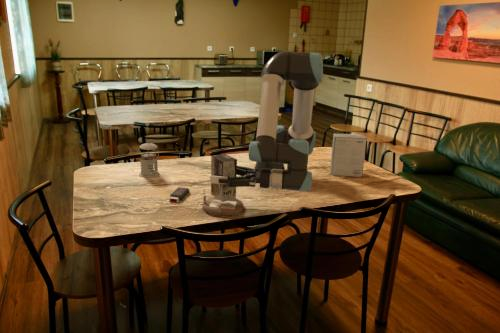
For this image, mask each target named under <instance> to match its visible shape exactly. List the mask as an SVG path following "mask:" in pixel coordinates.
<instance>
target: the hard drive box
mask: <svg viewBox="0 0 500 333" xmlns="http://www.w3.org/2000/svg"><path fill="white" fill-rule="evenodd" d="M367 142H368V141H367V137H366V136H365V134H358V133H356V134H354V133H353V134H352V133H333V135H332V145H331V157H330V158H331V159H330V167H329V172H330V175H331V176H342V177H343V176H344V177H357V178H358V177H359V178H362V177H363V173H364V172H363V171H364V164H365V157H366V148H367Z"/></svg>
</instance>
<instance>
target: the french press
mask: <svg viewBox="0 0 500 333" xmlns="http://www.w3.org/2000/svg"><path fill="white" fill-rule="evenodd" d="M150 125H151V124H150V123H149V122H146V123H145V126H146V127H147V130H146V131H147V132H149V127H148V126H150ZM139 149H141V150H144V151H145V150H146V151H147V152H143V153H141V154H140V158H139V159H140V160H139V161H140V172H139V173H138V175H139V177H141V178H144V179H145V178H146V179H150V178H157V177H159V176H161V173H160V171H159V170H158V159H159V156H160V154H159V150H158V145H157V144H155V143H152V142H145V143H142V144H141V145H139ZM150 150H151V151H154V152H150ZM156 150H157V153H156Z"/></svg>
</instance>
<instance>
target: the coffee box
mask: <svg viewBox="0 0 500 333" xmlns="http://www.w3.org/2000/svg"><path fill="white" fill-rule="evenodd" d="M210 158H211V159H210V160H211V161H210V167H211V168H210V174H211V176H224V177H228V176H229V177H230V178H232V177H237V176H238V175H237V166H238V159H237V158H235V157H233V156H231V155H228V154H226V153H221V154H217V155H215V154H214V155H211V156H210ZM210 194H211V196H212V197H216V198H217V199H219V200H220V201H222V202H225V201H230V200H235V199H237V198H236V197H237V187H228V185H227V184H217V183H210Z"/></svg>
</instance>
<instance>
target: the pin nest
mask: <svg viewBox="0 0 500 333" xmlns="http://www.w3.org/2000/svg"><path fill="white" fill-rule="evenodd" d="M203 210H204V211H203ZM202 211H203V212H204V213H205V212H206V213H205V214H207V215H209V214H210V215H209V216H212V215H213V217H217V216H221V218H223V217H222V216H230V217H233V216H232V215H235V216H237V215H236V214H238V213H240V212H241V211H242V212H243V211H244V203H243V202H242V200H240V199H237V198H236V199H235V200H230V201H225V202H222V201H220V200H219V199H217V198H216V197H214V196H212V197H211V198H208V199H207V197H206V195H203V200H202ZM242 212H241V213H242ZM241 213H240V214H241ZM238 215H239V214H238Z"/></svg>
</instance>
